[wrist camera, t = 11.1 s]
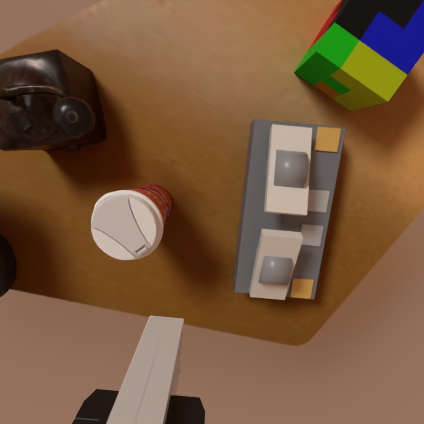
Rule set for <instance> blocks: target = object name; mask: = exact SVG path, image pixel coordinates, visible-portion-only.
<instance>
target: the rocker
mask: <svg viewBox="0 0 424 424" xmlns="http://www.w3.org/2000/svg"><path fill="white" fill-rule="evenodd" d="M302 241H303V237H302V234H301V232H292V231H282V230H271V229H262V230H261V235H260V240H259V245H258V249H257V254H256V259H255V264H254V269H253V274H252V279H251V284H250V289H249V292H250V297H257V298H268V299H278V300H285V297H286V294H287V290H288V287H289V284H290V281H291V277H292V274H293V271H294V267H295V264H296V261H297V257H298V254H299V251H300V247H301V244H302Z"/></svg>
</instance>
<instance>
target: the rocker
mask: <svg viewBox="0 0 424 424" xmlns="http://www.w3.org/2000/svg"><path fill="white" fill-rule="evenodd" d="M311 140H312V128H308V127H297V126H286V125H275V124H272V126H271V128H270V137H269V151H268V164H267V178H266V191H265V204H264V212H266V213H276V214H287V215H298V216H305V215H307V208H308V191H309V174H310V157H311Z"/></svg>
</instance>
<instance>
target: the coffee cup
mask: <svg viewBox="0 0 424 424" xmlns="http://www.w3.org/2000/svg"><path fill="white" fill-rule="evenodd" d="M171 206H172V201H171V197H170V195H169V193H168V192H167V191H166V190H165V189H164V188H163V187H161V186H158V185H154V184H150V185H144V186H141V187H138V188H134V189H131V190H119V191H115V192H110V193H107V194H105V195H104V196H102V197H101V198H100V199H99V200H98V201H97V203H96V204H95V207H94V211H93V214H92V219H91V231H92V235H93V238H94V240H95V242H96V244H97V245H98V246H99V248H100V249H101V250H102V251H103V252H105V253H106V254H107V255H109V256H111V257H114V258H116V259H121V260H135V259H140V258H143V257H145V256H147V255H149V254H150V253H151V252H153V251H154V250H155V249H156V247H157V246H158V244H159V243H160V241H161V238H162V235H163V227H164V225H165V223H166V220H167V218H168V216H169V213H170V211H171Z"/></svg>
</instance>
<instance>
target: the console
mask: <svg viewBox="0 0 424 424" xmlns="http://www.w3.org/2000/svg"><path fill="white" fill-rule="evenodd" d="M272 124H275V125H286V126H297V127H308V128H312V140H311V157H310V174H309V191H308V208H307V215H305V216H298V215H287V214H276V213H266V212H264V204H265V191H266V178H267V164H268V151H269V137H270V128H271V126H272ZM345 130H346V128H343V127H332V126H321V125H311V124H300V123H289V122H278V121H267V120H256V119H255V120H253V121H252V122H251V127H250V136H249V145H248V153H247V162H246V171H245V179H244V188H243V197H242V206H241V214H240V223H239V232H238V240H237V249H236V258H235V266H234V275H233V280H234V290H235V292H239V293H249V294H250V292H249V289H250V284H251V279H252V274H253V269H254V264H255V259H256V254H257V249H258V245H259V240H260V235H261V230H262V229H271V230H282V231H292V232H301V234H302V237H303V241H302V244H301V247H300V251H299V254H298V257H297V261H296V264H295V267H294V271H293V274H292V277H291V281H290V284H289V287H288V290H287V294H286V297H292V298H303V299H313V300H314V298H315V292H316V287H317V282H318V276H319V271H320V265H321V260H322V255H323V249H324V244H325V238H326V233H327V228H328V222H329V217H330V211H331V206H332V200H333V195H334V190H335V184H336V179H337V173H338V168H339V163H340V157H341V152H342V146H343V141H344V136H345Z"/></svg>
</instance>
